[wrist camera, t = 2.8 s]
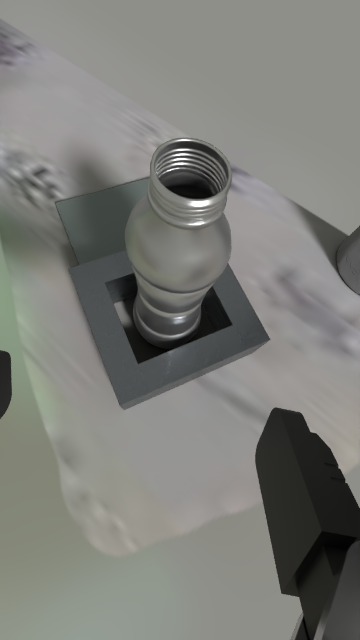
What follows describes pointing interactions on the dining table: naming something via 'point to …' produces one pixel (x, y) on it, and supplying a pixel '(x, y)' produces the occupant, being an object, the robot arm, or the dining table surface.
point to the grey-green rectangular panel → (100, 219)
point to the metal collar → (176, 365)
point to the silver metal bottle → (178, 239)
